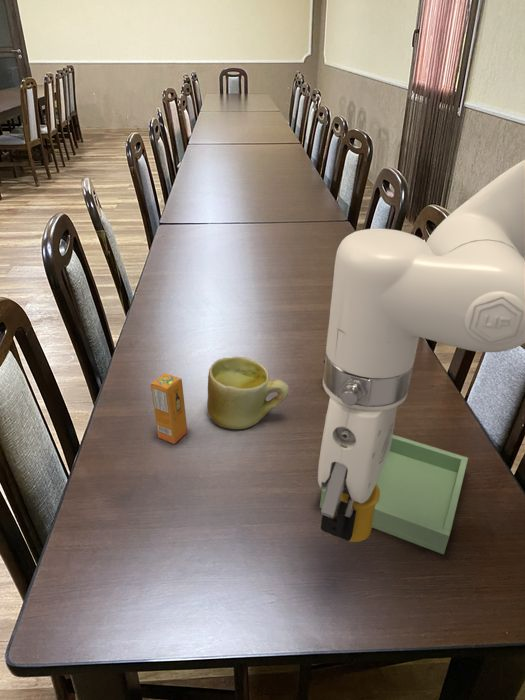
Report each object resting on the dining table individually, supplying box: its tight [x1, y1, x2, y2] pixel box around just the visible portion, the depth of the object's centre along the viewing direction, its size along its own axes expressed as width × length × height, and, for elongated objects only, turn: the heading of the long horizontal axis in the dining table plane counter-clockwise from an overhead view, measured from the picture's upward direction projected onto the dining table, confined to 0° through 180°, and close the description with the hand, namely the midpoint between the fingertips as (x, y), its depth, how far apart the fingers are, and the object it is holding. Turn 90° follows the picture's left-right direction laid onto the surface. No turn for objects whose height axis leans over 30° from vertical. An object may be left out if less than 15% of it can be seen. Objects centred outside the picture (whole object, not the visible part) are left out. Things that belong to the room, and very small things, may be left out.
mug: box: [206, 356, 290, 430], centre depth 82 cm, size 12×10×10 cm
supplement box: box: [150, 373, 188, 445], centre depth 78 cm, size 3×3×10 cm
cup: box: [340, 484, 380, 543], centre depth 56 cm, size 5×5×5 cm
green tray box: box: [319, 434, 469, 555], centre depth 71 cm, size 16×15×3 cm
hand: (344, 514), depth 57 cm, fingers closed on cup, 4 cm apart
